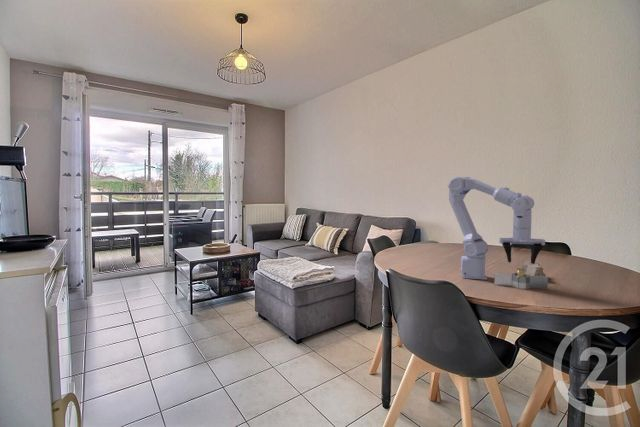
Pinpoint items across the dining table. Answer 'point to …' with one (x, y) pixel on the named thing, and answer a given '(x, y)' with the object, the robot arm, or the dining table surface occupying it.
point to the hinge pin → (520, 272)
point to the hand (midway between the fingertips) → (520, 262)
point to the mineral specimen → (533, 269)
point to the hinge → (521, 281)
